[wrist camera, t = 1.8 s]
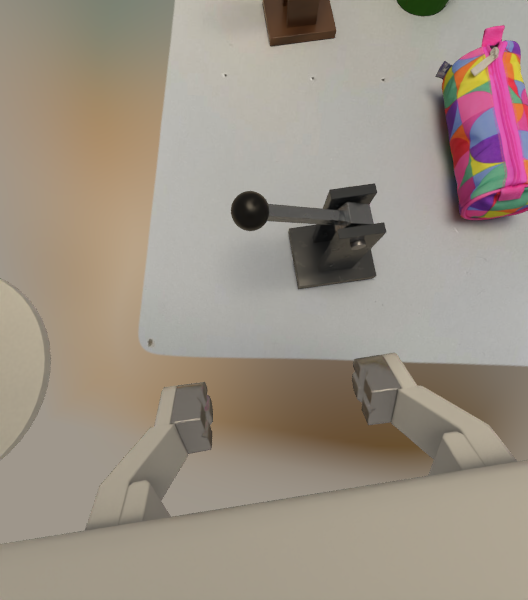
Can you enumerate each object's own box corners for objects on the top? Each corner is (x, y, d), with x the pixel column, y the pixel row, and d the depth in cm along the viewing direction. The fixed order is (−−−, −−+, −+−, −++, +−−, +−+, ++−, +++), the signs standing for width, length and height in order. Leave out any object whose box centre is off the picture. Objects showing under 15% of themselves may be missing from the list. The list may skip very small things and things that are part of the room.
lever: (228, 236, 27) (241, 219, 24) (223, 201, 27) (236, 181, 25) (355, 240, 33) (378, 227, 30) (349, 212, 33) (371, 197, 31)
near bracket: (298, 289, 41) (312, 258, 29) (288, 232, 43) (297, 179, 30) (373, 278, 41) (420, 243, 29) (361, 221, 43) (400, 164, 30)
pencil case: (422, 89, 46) (459, 25, 38) (486, 86, 46) (538, 22, 38) (443, 228, 43) (490, 193, 34) (513, 225, 43) (578, 190, 34)
